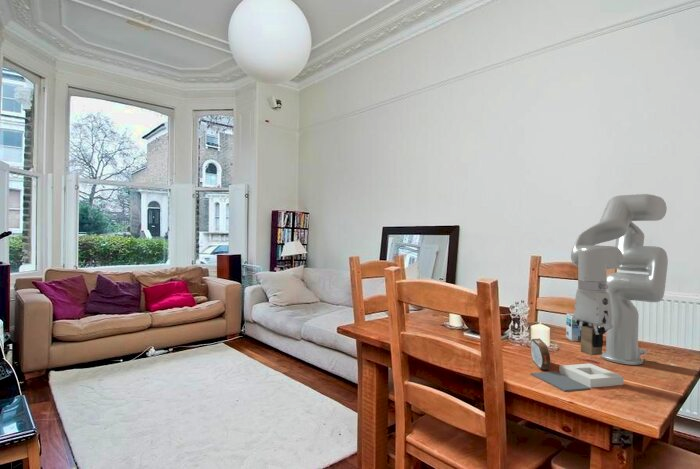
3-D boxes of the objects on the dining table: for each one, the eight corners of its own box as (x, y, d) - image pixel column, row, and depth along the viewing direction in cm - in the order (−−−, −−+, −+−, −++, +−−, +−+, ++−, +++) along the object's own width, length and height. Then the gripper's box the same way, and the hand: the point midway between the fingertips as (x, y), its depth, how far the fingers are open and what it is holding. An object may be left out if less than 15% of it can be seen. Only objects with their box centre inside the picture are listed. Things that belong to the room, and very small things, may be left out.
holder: (589, 371, 129) (590, 363, 129) (623, 384, 117) (623, 376, 117) (559, 373, 126) (559, 365, 126) (590, 387, 114) (590, 379, 114)
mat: (554, 372, 127) (554, 371, 127) (590, 389, 113) (590, 387, 113) (530, 374, 125) (530, 373, 125) (564, 391, 111) (564, 390, 111)
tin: (551, 373, 126) (551, 347, 126) (540, 372, 127) (541, 346, 127) (538, 359, 141) (538, 336, 141) (529, 358, 141) (529, 335, 141)
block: (591, 350, 124) (591, 325, 124) (602, 354, 121) (602, 328, 120) (580, 351, 123) (581, 326, 123) (591, 355, 120) (591, 329, 119)
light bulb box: (571, 341, 167) (571, 316, 167) (565, 337, 173) (565, 313, 173) (598, 342, 165) (599, 317, 165) (591, 338, 171) (591, 314, 172)
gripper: (626, 289, 115) (625, 352, 115) (580, 282, 131) (579, 336, 131) (605, 290, 113) (604, 353, 113) (561, 283, 129) (560, 338, 129)
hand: (591, 344), depth 122 cm, fingers closed on block, 4 cm apart
